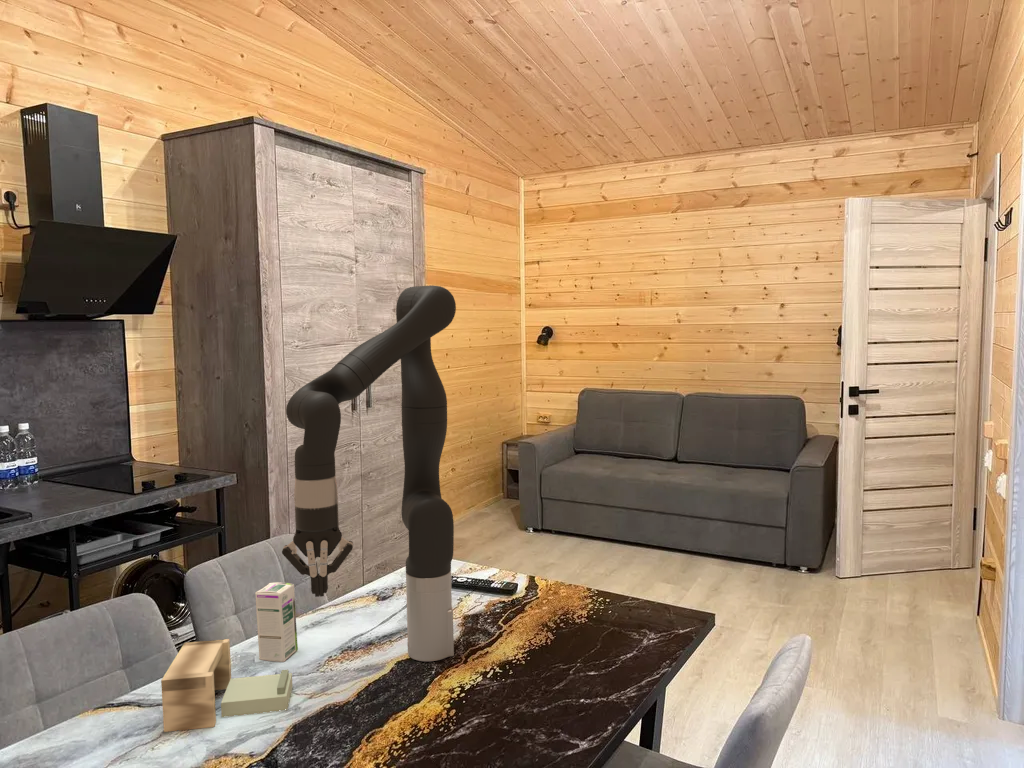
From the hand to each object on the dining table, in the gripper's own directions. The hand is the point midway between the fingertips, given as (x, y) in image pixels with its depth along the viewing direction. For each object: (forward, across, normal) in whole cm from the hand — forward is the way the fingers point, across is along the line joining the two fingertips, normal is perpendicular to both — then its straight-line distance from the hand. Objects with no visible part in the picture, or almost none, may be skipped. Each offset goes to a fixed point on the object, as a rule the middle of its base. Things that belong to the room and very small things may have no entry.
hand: (319, 595), depth 135 cm
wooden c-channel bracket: (+19, +22, 0) cm, 29 cm away
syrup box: (+19, +10, -19) cm, 29 cm away
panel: (+19, +12, 0) cm, 23 cm away
